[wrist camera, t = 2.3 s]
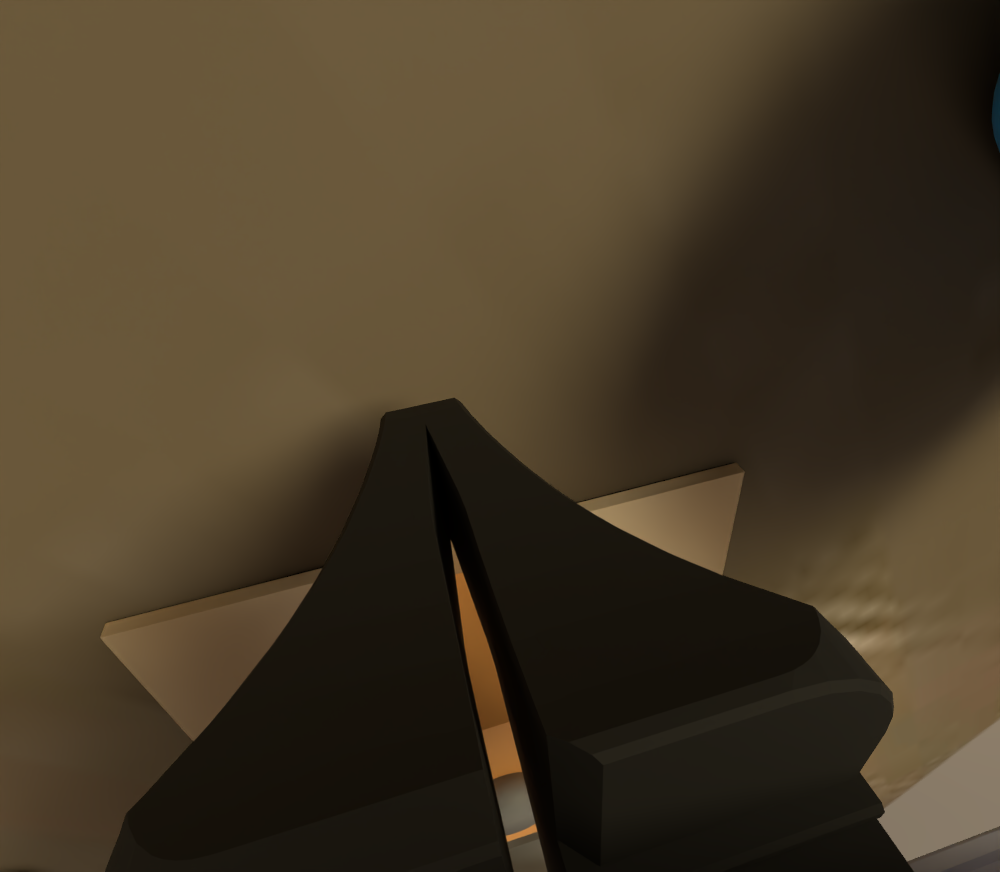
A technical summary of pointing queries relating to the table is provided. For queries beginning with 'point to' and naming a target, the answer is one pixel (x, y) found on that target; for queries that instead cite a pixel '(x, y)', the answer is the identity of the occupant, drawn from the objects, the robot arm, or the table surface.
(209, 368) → the table surface
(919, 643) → the table surface
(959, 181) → the table surface
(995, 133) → the alarm clock
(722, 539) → the dock
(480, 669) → the lock
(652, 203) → the table surface
